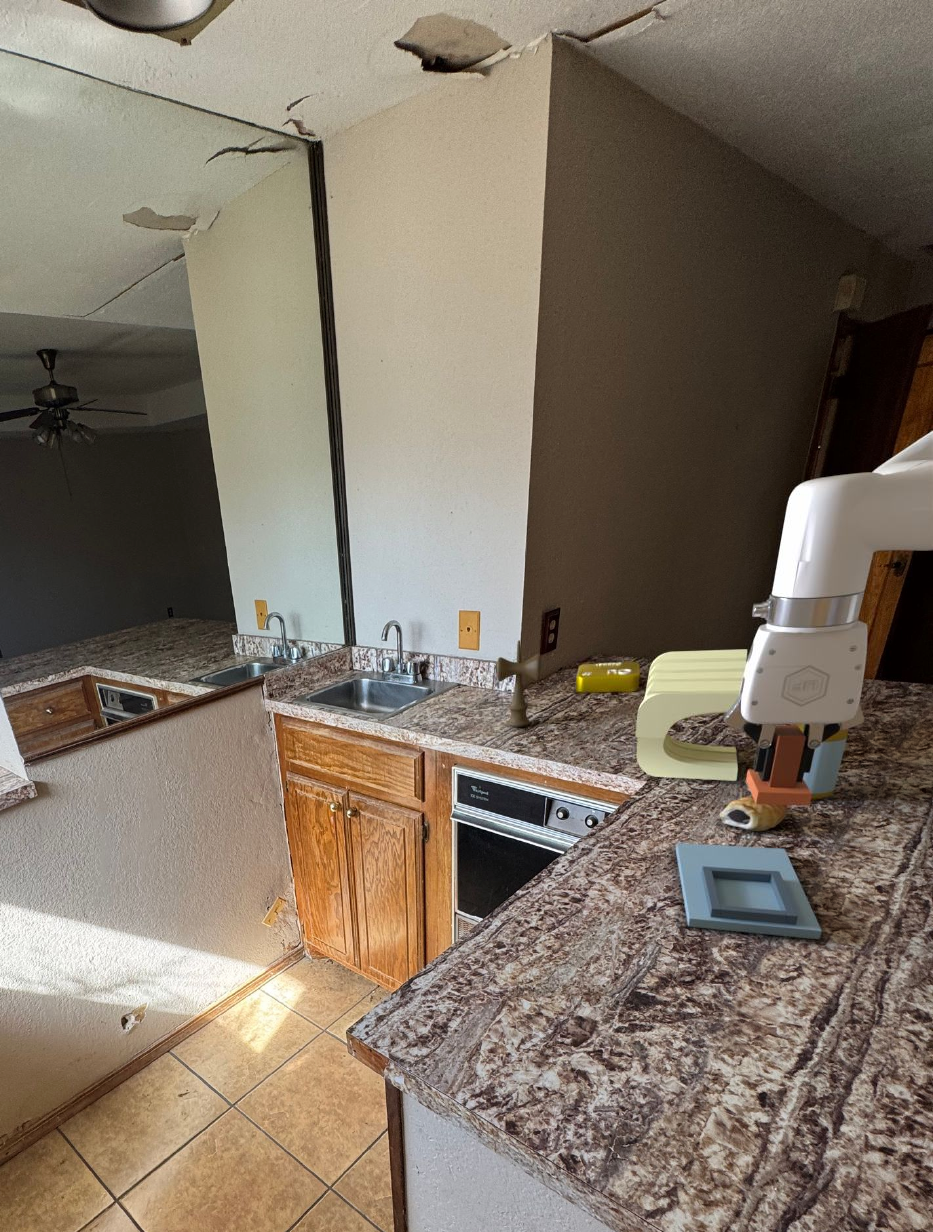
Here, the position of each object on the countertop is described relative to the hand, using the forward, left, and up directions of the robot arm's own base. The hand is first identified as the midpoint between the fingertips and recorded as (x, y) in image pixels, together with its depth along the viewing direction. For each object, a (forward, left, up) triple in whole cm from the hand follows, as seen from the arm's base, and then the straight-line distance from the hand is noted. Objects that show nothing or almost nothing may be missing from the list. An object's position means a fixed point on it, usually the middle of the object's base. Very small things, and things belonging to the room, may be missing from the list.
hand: (779, 776), depth 74 cm
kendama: (+37, -72, -17) cm, 83 cm away
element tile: (+18, -106, -17) cm, 109 cm away
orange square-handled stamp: (0, 0, -2) cm, 2 cm away
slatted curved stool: (+4, -47, -17) cm, 50 cm away
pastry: (-3, -23, -17) cm, 29 cm away
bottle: (-12, -35, -17) cm, 41 cm away
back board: (+1, -2, -17) cm, 17 cm away
